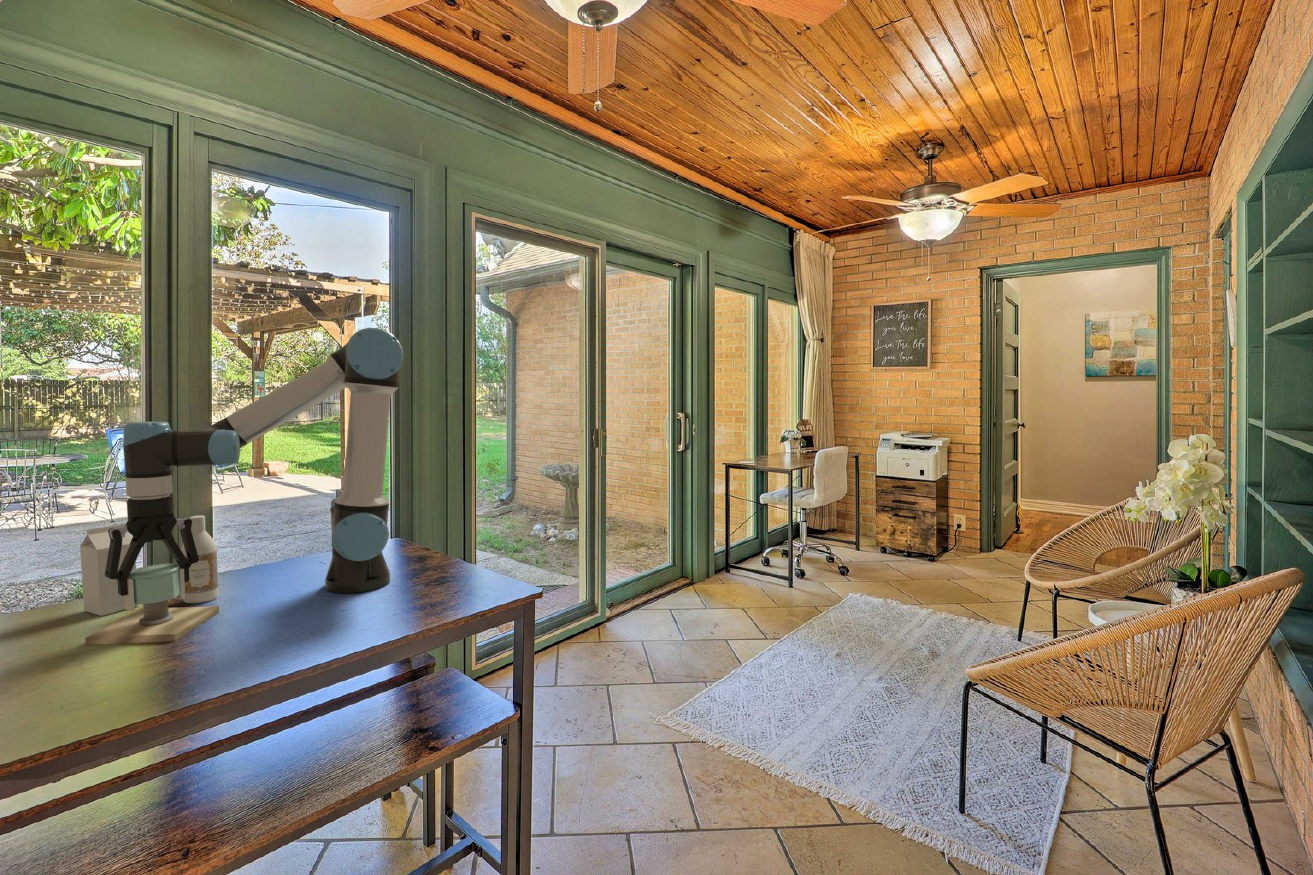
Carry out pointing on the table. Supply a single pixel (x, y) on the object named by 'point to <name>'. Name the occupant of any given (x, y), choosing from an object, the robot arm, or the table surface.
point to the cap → (155, 583)
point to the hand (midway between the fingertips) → (155, 603)
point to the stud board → (153, 624)
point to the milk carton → (101, 572)
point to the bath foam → (202, 566)
